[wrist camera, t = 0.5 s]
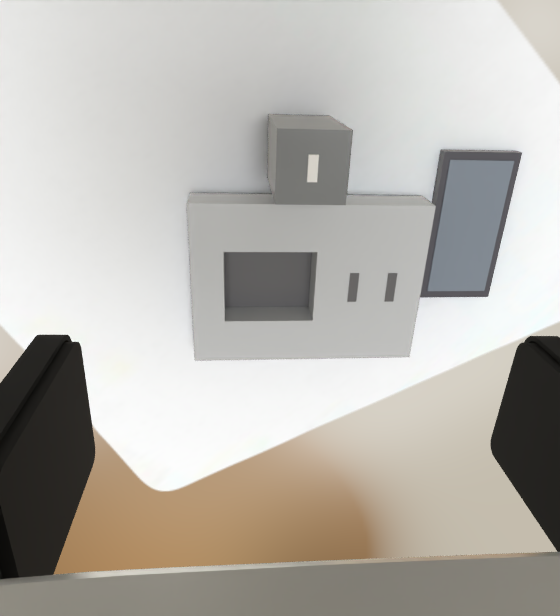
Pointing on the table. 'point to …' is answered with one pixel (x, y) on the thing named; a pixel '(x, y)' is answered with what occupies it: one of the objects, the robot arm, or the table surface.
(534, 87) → the table surface
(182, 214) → the table surface
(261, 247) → the outlet plate
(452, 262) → the phone
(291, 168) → the block
